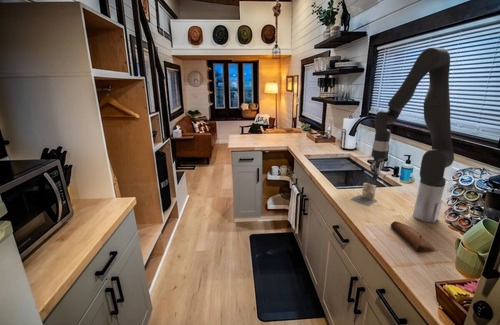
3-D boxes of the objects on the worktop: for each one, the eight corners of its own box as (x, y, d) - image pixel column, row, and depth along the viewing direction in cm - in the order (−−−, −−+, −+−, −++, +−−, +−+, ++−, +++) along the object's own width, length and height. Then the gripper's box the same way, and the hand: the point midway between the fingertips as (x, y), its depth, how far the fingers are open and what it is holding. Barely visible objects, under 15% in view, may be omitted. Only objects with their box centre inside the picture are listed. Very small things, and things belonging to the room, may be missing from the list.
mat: (377, 201, 136) (377, 200, 136) (368, 207, 130) (368, 206, 130) (359, 195, 144) (359, 194, 144) (350, 200, 138) (350, 199, 138)
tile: (373, 199, 138) (376, 185, 135) (372, 200, 137) (374, 186, 134) (363, 195, 142) (365, 182, 140) (361, 196, 141) (363, 183, 139)
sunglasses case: (439, 251, 96) (433, 238, 94) (421, 260, 97) (415, 247, 95) (408, 226, 113) (403, 214, 111) (394, 233, 114) (388, 222, 112)
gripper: (381, 152, 129) (376, 184, 134) (393, 148, 137) (387, 178, 142) (367, 149, 134) (362, 180, 139) (379, 145, 142) (374, 174, 147)
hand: (375, 179), depth 141 cm, fingers closed
